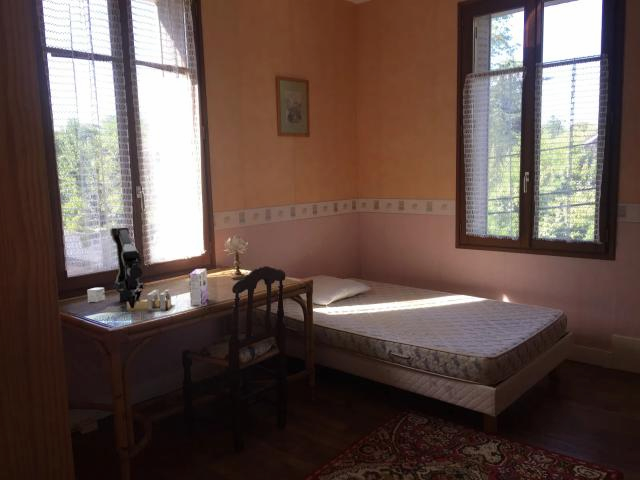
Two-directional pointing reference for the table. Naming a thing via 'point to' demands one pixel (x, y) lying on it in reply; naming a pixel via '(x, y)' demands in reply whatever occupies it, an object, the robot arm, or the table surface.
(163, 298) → the grey slotted rack
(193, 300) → the candy box
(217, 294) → the table surface
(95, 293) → the skincare box
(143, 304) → the brass tube
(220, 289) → the table surface
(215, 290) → the table surface
